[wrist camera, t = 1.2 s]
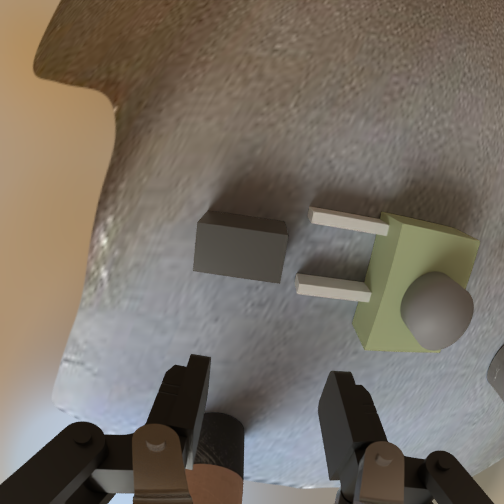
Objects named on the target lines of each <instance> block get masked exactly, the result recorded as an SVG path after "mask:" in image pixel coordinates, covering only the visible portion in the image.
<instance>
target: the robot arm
mask: <svg viewBox="0 0 504 504" xmlns="http://www.w3.org/2000/svg"><path fill="white" fill-rule="evenodd" d="M210 365H211V357H207V356H201V355H195V354H191V355H190V358H189V361H188V365H187V367H185V366H179V365H174V366H173V367H172V368H171V369H169V370H168V371H167V372H166V373H165V376H164V378H163V381H162V384H161V386H160V389H159V392H158V394H157V396H156V399H155V401H154V404H153V406H152V409H151V412H150V414H149V417H148V419H147V422H146V424H145V425H144V426H142V427H140V428H138V429H137V430H136V431H135V433H132V434H127V435H104V433H103V431H102V430H101V429H100V428H99V427H98V426H96V425H94V424H92V423H89V422H75V423H72V424H70V425H68V426H67V427H66V428H65V429H64V430H62V431H61V432H60V433H59V434H58V435H57V436H55V437H54V438H53V439H52V440H51V441H50V442H49V443H47V444H46V445H45V446H44V447H43V448H42V449H41V450H40V451H39V452H37V453H36V454H35V455H34V456H33V457H32V458H31V459H29V460H28V461H27V462H26V463H25V464H24V465H23V466H21V467H20V468H19V469H18V470H17V471H16V472H14V473H13V474H12V475H11V476H10V477H9V478H8V479H6V480H5V481H4V482H3V483H2V484H1V485H0V504H108V503H109V501H110V500H111V499H112V498H113V497H114V495H115V494H116V493H134V497H133V504H193V500H192V497H191V496H190V493H189V489H188V484H187V479H186V474H185V469H189V470H193V465H194V460H195V455H196V450H197V445H198V440H199V435H200V430H201V426H202V421H203V416H204V411H205V406H206V401H207V395H208V387H209V376H210ZM487 379H488V382H489V383H490V384H491V386H492V387H493V388H494V390H495V391H496V392H497V393H498V395H499V396H500V398H501V399H502V400H503V402H504V346H503V347H502V348H501V349H500V350H499V351H498V353H497V354H496V356H495V357H494V359H493V361H492V362H491V365H490V367H489V370H488V374H487ZM318 415H319V421H320V426H321V432H322V438H323V443H324V449H325V455H326V461H327V467H328V473H329V479H330V480H340V483H341V487H340V488H339V490H338V492H337V495H336V499H335V504H433V502H432V500H433V499H435V500H436V501H437V503H438V504H494V503H493V502H492V501H491V499H490V498H489V497H488V496H487V495H486V493H485V492H484V491H483V490H482V489H481V487H480V486H479V485H478V484H477V483H476V482H475V480H473V478H472V477H471V476H470V474H469V473H468V472H467V471H466V470H465V468H464V467H463V466H462V465H461V464H460V463H459V461H458V460H457V459H456V458H455V457H454V456H453V455H452V454H450V453H448V452H445V451H434V452H432V453H430V454H429V455H428V457H427V458H426V459H418V458H412V457H406V456H404V455H403V453H402V451H401V450H400V449H399V448H398V447H397V446H396V445H394V444H392V443H389V442H388V440H387V438H386V435H385V432H384V429H383V427H382V424H381V421H380V419H379V416H378V414H377V411H376V408H375V406H374V403H373V400H372V397H371V395H370V393H369V392H368V391H367V390H366V389H365V388H364V387H363V386H362V385H356V384H355V381H354V378H353V376H352V373H351V372H344V371H331V372H330V373H329V376H328V378H327V381H326V384H325V387H324V389H323V392H322V395H321V397H320V400H319V406H318Z"/></svg>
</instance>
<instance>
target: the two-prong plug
mask: <svg viewBox="0 0 504 504" xmlns="http://www.w3.org/2000/svg"><path fill="white" fill-rule="evenodd" d="M307 217H308V219H309V220H310V222H311V223H314V224H320V225H326V226H332V227H338V228H344V229H350V230H355V231H361V232H367V233H372V234H376V238H375V242H374V246H373V250H372V254H371V258H370V262H369V266H368V270H367V273H366V277H365V281H364V282H358V281H350V280H343V279H335V278H328V277H320V276H313V275H306V274H299V273H296V278H295V287H296V291H297V294H303V295H311V296H319V297H327V298H335V299H343V300H352V301H359V302H358V305H357V308H356V312H355V315H354V318H353V321H352V325H353V327H354V329H355V331H356V333H357V335H358V337H359V339H360V342H361V344H362V346H363V348H364V350H372V351H393V352H434V353H440V351H441V349H444V348H446V347H448V346H450V345H452V344H453V343H455V342H456V341H457V340H458V339H459V338H460V337H461V336H462V335H463V334H464V332H465V331H466V329H467V328H468V326H469V324H470V322H471V319H472V316H473V310H474V305H473V299H472V297H471V295H470V294H469V292H468V291H466V290H465V289H466V286H467V283H468V280H469V277H470V274H471V271H472V268H473V265H474V261H475V258H476V255H477V251H478V248H479V244H480V241H479V240H477V239H475V238H473V237H471V236H469V235H467V234H465V233H463V232H461V231H459V230H457V229H455V228H452V227H448V226H444V225H440V224H436V223H431V222H427V221H423V220H418V219H414V218H409V217H405V216H400V215H395V214H391V213H386V212H381V216H380V219H376V218H371V217H366V216H361V215H355V214H350V213H344V212H339V211H333V210H328V209H322V208H316V207H310V206H309V211H308V216H307Z"/></svg>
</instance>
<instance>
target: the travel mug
mask: <svg viewBox="0 0 504 504" xmlns="http://www.w3.org/2000/svg"><path fill="white" fill-rule="evenodd" d="M185 474H186V479H187V484H188V489H189V493H190V496H191V497H192V500H193V504H242V494H243V475H244V428H243V426H242V424H241V423H240V422H239V421H238V420H237V419H235V418H233V417H231V416H229V415H226V414H222V413H205V414H204V416H203V421H202V426H201V430H200V435H199V440H198V445H197V450H196V455H195V460H194V465H193V470H189V469H185Z"/></svg>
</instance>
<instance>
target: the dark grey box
mask: <svg viewBox="0 0 504 504" xmlns="http://www.w3.org/2000/svg"><path fill="white" fill-rule="evenodd" d="M288 237H289V235H288V232H287V228H286V225H285V222H284V221H278V220H271V219H264V218H257V217H251V216H244V215H237V214H229V213H222V212H215V211H207V212H206V213H205V214H204V215H203V217H202V218H201V219H200V220H199V221H198V222H197V232H196V243H195V254H194V266H193V271H197V272H203V273H210V274H217V275H223V276H230V277H237V278H244V279H251V280H258V281H265V282H272V283H280V280H281V275H282V269H283V264H284V259H285V253H286V248H287V242H288Z"/></svg>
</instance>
